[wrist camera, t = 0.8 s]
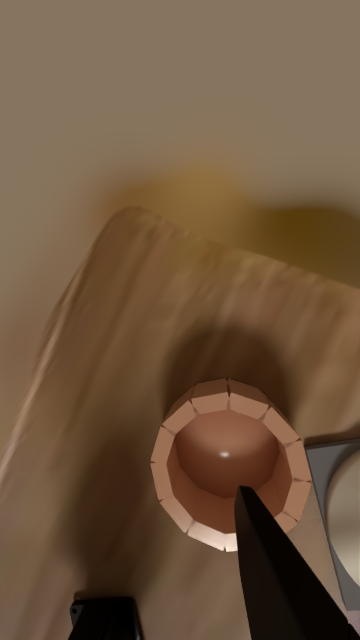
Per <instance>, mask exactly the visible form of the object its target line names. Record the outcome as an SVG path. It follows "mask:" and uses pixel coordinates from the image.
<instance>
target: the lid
mask: <svg viewBox="0 0 360 640" xmlns="http://www.w3.org/2000/svg"><path fill="white" fill-rule="evenodd" d="M324 519H325V524H326V529H327V533H328V536H329V539H330V541H331V543H332V545H333V548H334V550H335V552H336V554H337V555H338V557H339V559H340V561H341V563H342V565H343V566H344V568H345V569H346V571H347V572H348V574H349V575H350V576H351V578H352V579H353V580H354V581H355V582H356V583H357V584H358V585H359V586H360V449H358V450H357V451H355V452H354V453H352V454H351V455H350V456H349V457H348V458H346V459H345V460H344V461H343V462H342V464H341V465H340V466H339V467H338V468H337V470H336V471H335V473H334V475H333V476H332V478H331V480H330V483H329V485H328V488H327V492H326V496H325V503H324Z"/></svg>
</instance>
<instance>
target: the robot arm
mask: <svg viewBox="0 0 360 640" xmlns="http://www.w3.org/2000/svg"><path fill="white" fill-rule="evenodd" d="M234 517H235V528H236V539H237V549H238V560H239V570H240V577H241V583H242V589H243V594H244V600H245V606H246V611H247V617H248V622H249V628H250V633H251V639H252V640H360V636H359V634H358V633H357V632H356V630H355V629H354V627H353V626H352V625H351V624H350V623H349V624H348V620H347V618H346V617H345V615H344V614H343V612H342V611H341V610H340V608H339V607H338V606H337V604H336V603H335V601H334V600H333V599H332V597H331V596H330V594H329V593H328V592H327V590H326V589H325V588H324V586H323V585H322V583H321V582H320V581H319V579H318V578H317V576H316V575H315V574H314V572H313V571H312V570H311V568H310V567H309V565H308V564H307V563H306V561H305V560H304V558H303V557H302V556H301V554H300V553H299V552H298V550H297V549H296V547H295V546H294V545H293V543H292V542H291V540H290V539H289V538H288V536H287V535H286V534H285V532H284V531H283V529H282V528H281V527H280V525H279V524H278V522H277V521H276V520H275V518H274V517H273V516H272V514H271V513H270V511H269V510H268V509H267V507H266V506H265V504H264V503H263V502H262V500H261V499H260V498H259V496H258V495H257V493H256V492H255V491H254V489H253V488H252V487H251V486H245V485H239V486H238V489H237V494H236V498H235V502H234ZM70 615H71V620H72V625H73V629H72V632H71V634H70V636H69V638H68V640H142V636H141V632H140V627H139V622H138V617H137V613H136V608H135V603H134V600H133V599H132V598H130V597H125V598H110V599H95V600H80V601H74V602H73V603H72V605H71V607H70Z"/></svg>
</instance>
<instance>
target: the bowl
mask: <svg viewBox="0 0 360 640" xmlns="http://www.w3.org/2000/svg"><path fill="white" fill-rule="evenodd" d="M150 464H151V469H152V473H153V478H154V483H155V487H156V492H157V496H158V500H161V501H160V504H161V505H162V506H163V507H164V509H165V510H166V511H167V512H168V514H169V515H170V516H171V517H172V518H173V520H174V521H175V522H176V523H177V525H178V526H179V527H180V528H181V529H182V531H183V532H184V533H185V532H186V531H187V530H188V532H187V535H188V536H190V537H193V538H195V539H197V540H200V541H202V542H204V543H206V544H209V545H211V546H213V547H215V548H218V549H220V550H222V551H223V550H224V546H225V547H226V552H227V551H238V549H237V539H236V528H235V517H234V502H235V498H236V494H237V489H238V486H239V485H245V486H251V487H252V488H253V489H254V491H255V492H256V493H257V495H258V496H259V498H260V499H261V500H262V502H263V503H264V504H265V506H266V507H267V509H268V510H269V511H270V513H271V514H272V516H273V517H274V518H275V520H276V521H277V522H278V524H279V525H280V527H281V528H282V529H283V531H284V532H285V533H286V532H288V531H289V530H290V529H292V528H293V527H294V526H295V525H297V524H298V522H297V520H299V521H300V519H301V516H302V513H303V509H304V506H305V503H306V500H307V497H308V494H309V491H310V488H311V485H312V483H311V482H310V480H312V479H311V475H310V471H309V467H308V463H307V459H306V455H305V451H304V447H303V443H302V440H301V439H300V436H299V435H298V434H297V432H296V431H295V430H294V428H293V427H292V426H291V424H290V423H289V421H288V420H287V419H286V417H285V416H284V415H283V413H282V412H281V411H280V410H279V409H278V408H277V407H276V406H275V405H274V404H273V403H272V401H271V400H270V399H269V398H268V397H267V396H266V395H265V394H264V393H263V392H262V391H261V390H259V389H258V388H257V387H254V386H251V385H247V384H244V383H241V382H238V381H235V380H232V379H229V378H228V380H226V378H222V379H217V380H212V381H207V382H202V383H197V384H196V386H195V385H193V386H192V387H191V388H190V389H189V390H188V391H187V392H186V393H184V394H183V395H182V396H181V397H180V398H179V399H178V400H177V401H176V402H175V403H173V405H172V406H171V408H170V410H169V412H168V414H167V416H166V417H165V419H164V421H163V423H162V425H161V427H160V430H159V433H158V437H157V440H156V443H155V447H154V450H153V453H152V457H151V463H150ZM296 519H297V520H296Z"/></svg>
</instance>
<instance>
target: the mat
mask: <svg viewBox="0 0 360 640" xmlns="http://www.w3.org/2000/svg"><path fill="white" fill-rule="evenodd" d="M304 449H305V453H306V457H307V461H308V465H309V469H310V473H311V477H312V481H313V485H314V489H315V493H316V497H317V501H318V505H319V508H320V512H321V516H322V520H323V524H324V528H325V532H326V536H327V540H328V544H329V548H330V552H331V556H332V560H333V564H334V568H335V572H336V576H337V580H338V584H339V588H340V592H341V596H342V600H343V603H344V605H345V607H346V610H347V611H352V610H360V586H359V585H358V584H357V583H356V582H355V581H354V580H353V579H352V578H351V576H350V575H349V574H348V572H347V571H346V569H345V568H344V566H343V565H342V563H341V561H340V559H339V557H338V555H337V554H336V552H335V550H334V548H333V545H332V543H331V541H330V539H329V536H328V533H327V529H326V524H325V519H324V503H325V496H326V492H327V488H328V485H329V483H330V480H331V478H332V476H333V475H334V473H335V471H336V470H337V468H338V467H339V466H340V465H341V464H342V462H343V461H344V460H345V459H346V458H348V457H349V456H350V455H351V454H352V453H354V452H355V451H357V450H358V449H360V438H357V439H350V440H343V441H337V442H330V443H323V444H316V445H310V446H304Z"/></svg>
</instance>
